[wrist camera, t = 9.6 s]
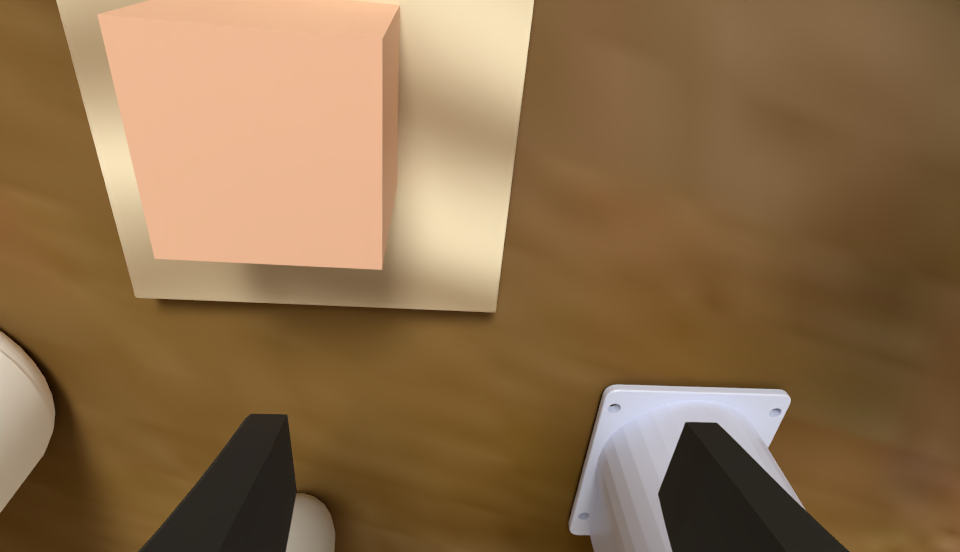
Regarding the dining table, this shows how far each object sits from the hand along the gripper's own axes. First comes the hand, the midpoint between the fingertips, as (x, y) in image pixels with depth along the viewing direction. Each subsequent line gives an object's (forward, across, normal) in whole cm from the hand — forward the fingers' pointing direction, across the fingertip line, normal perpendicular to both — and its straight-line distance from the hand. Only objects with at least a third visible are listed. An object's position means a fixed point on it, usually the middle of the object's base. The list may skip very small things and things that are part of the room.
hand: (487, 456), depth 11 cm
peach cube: (+9, +5, -4) cm, 11 cm away
